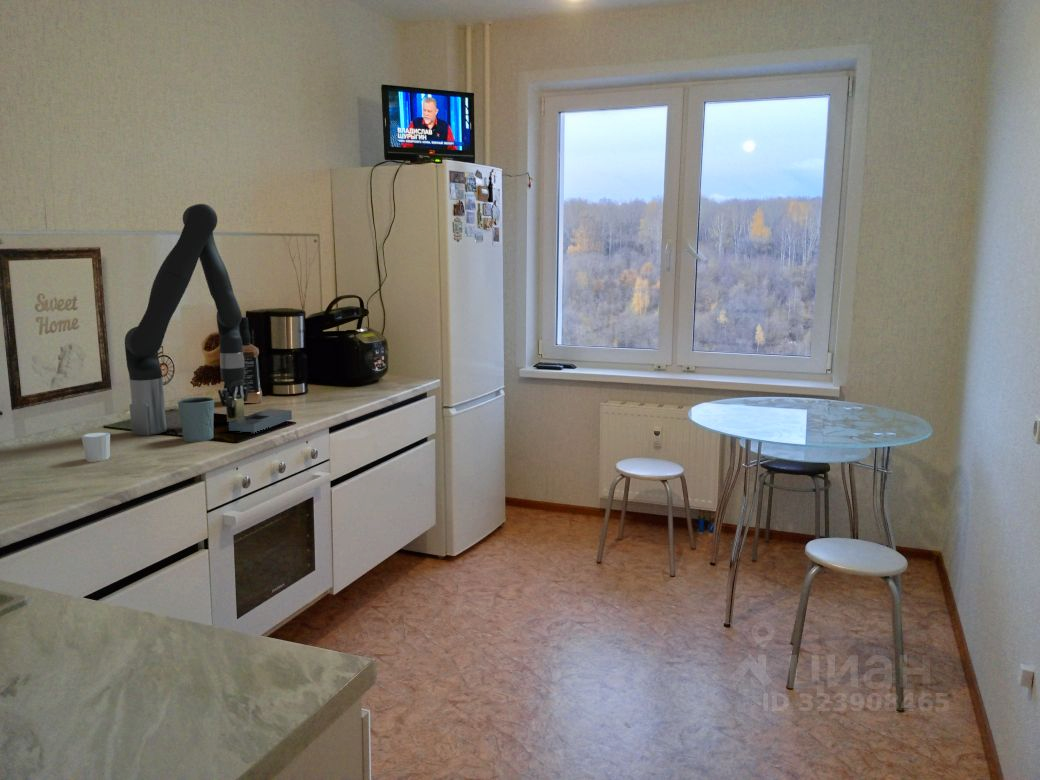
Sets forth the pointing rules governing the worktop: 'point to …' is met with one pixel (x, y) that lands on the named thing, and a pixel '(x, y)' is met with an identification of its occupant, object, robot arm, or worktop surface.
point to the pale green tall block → (237, 409)
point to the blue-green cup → (197, 418)
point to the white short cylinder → (96, 446)
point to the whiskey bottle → (250, 364)
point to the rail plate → (260, 420)
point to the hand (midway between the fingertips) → (235, 416)
